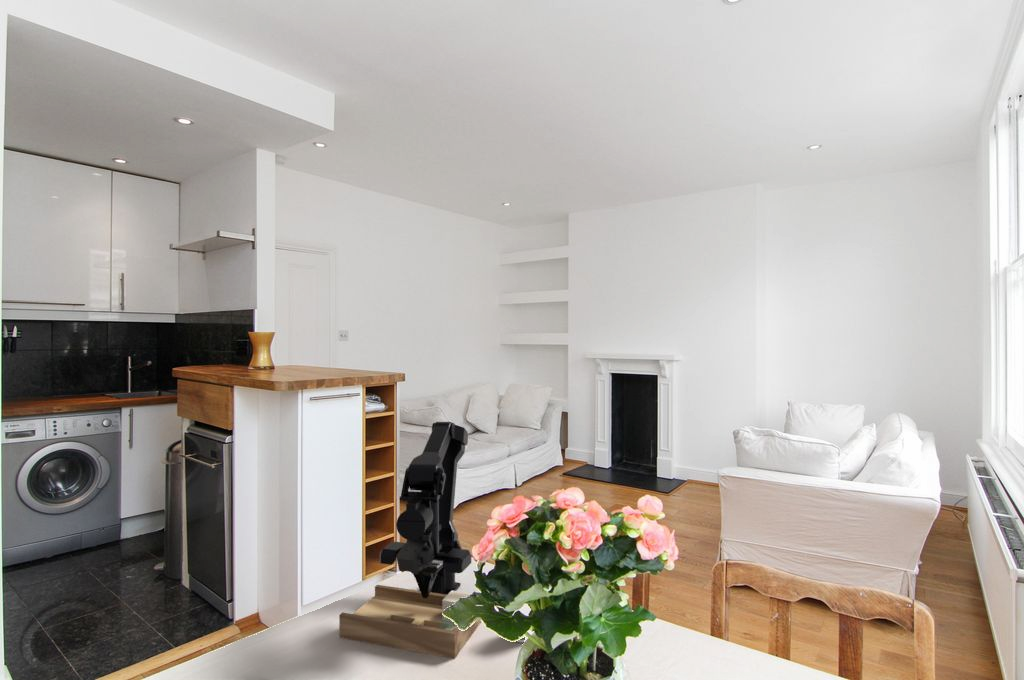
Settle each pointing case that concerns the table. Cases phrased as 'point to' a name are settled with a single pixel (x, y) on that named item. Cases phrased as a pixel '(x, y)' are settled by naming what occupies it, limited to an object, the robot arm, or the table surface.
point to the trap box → (405, 623)
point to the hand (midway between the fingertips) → (425, 597)
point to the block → (452, 600)
